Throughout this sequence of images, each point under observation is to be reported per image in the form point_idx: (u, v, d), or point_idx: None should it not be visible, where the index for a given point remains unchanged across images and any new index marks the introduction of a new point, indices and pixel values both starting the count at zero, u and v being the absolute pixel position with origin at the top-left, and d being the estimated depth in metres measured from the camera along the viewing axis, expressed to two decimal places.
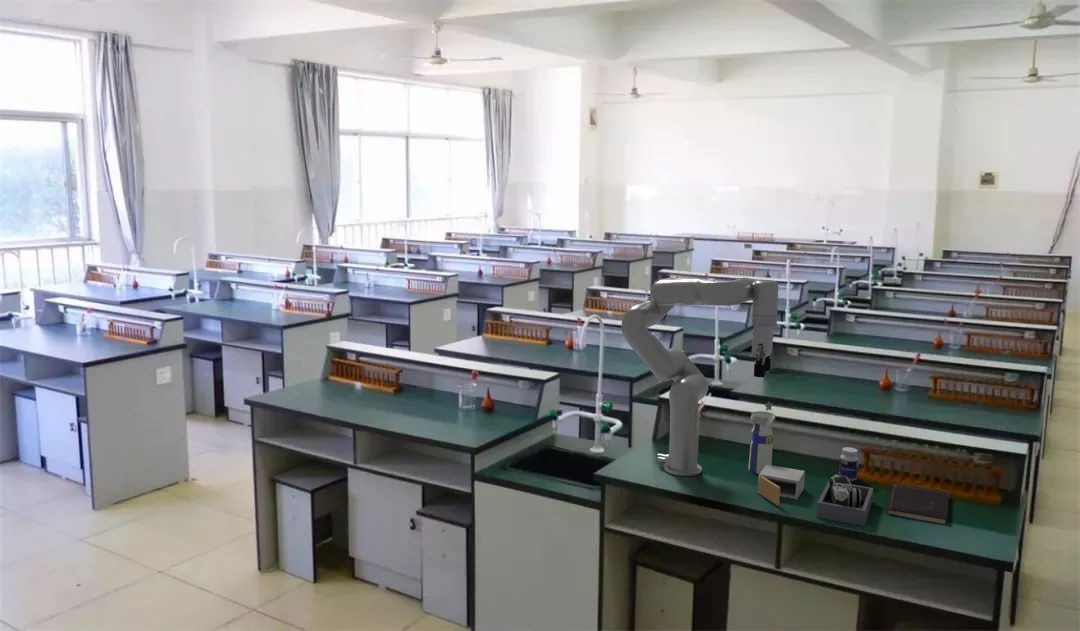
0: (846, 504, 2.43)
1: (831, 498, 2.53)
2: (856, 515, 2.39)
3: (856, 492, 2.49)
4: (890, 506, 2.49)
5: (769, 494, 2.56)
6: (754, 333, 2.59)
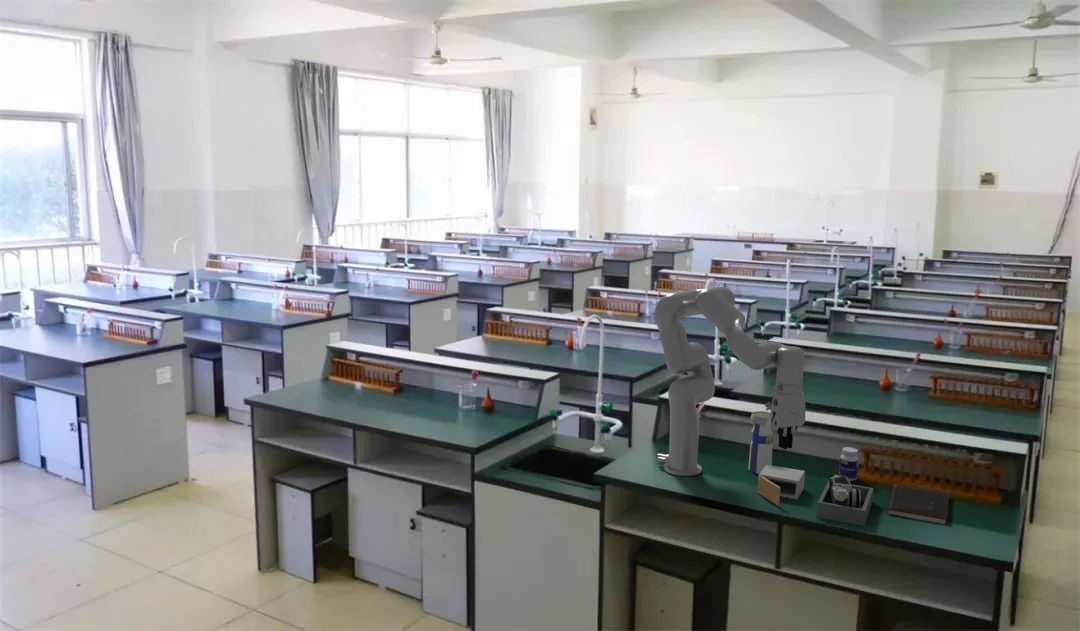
0: (845, 504, 2.43)
1: (831, 498, 2.52)
2: (856, 515, 2.39)
3: (855, 492, 2.48)
4: (890, 506, 2.49)
5: (769, 494, 2.56)
6: None
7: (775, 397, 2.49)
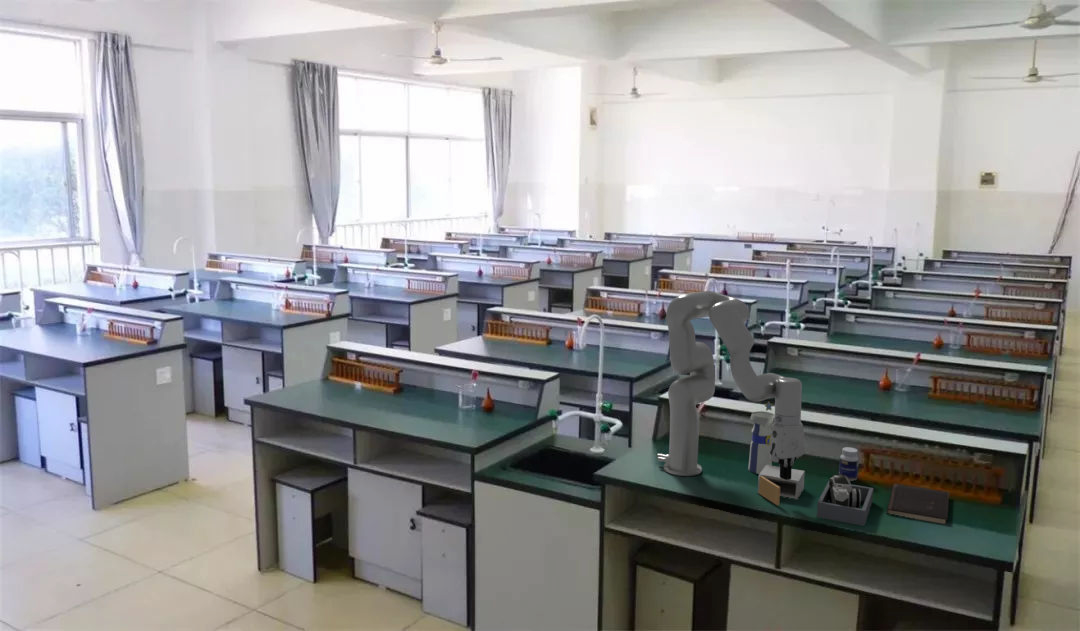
0: (846, 505, 2.43)
1: (831, 499, 2.52)
2: (856, 515, 2.39)
3: (855, 492, 2.48)
4: (890, 506, 2.49)
5: (769, 494, 2.56)
6: None
7: (774, 429, 2.50)
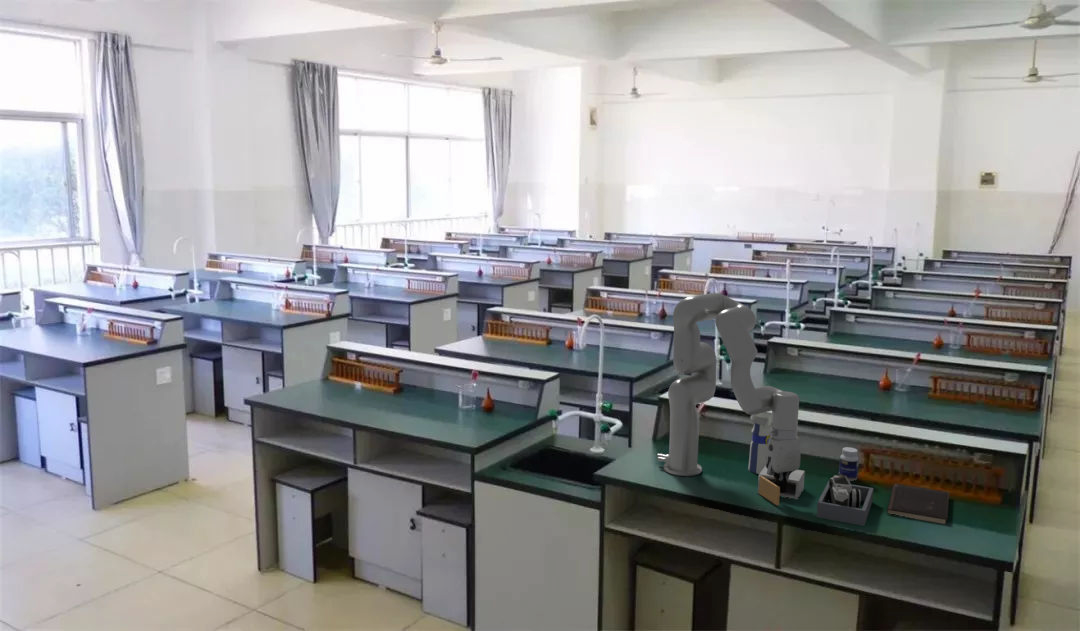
0: (846, 505, 2.42)
1: (831, 499, 2.52)
2: (856, 515, 2.39)
3: (855, 493, 2.48)
4: (890, 506, 2.49)
5: (769, 494, 2.56)
6: None
7: (770, 442, 2.51)
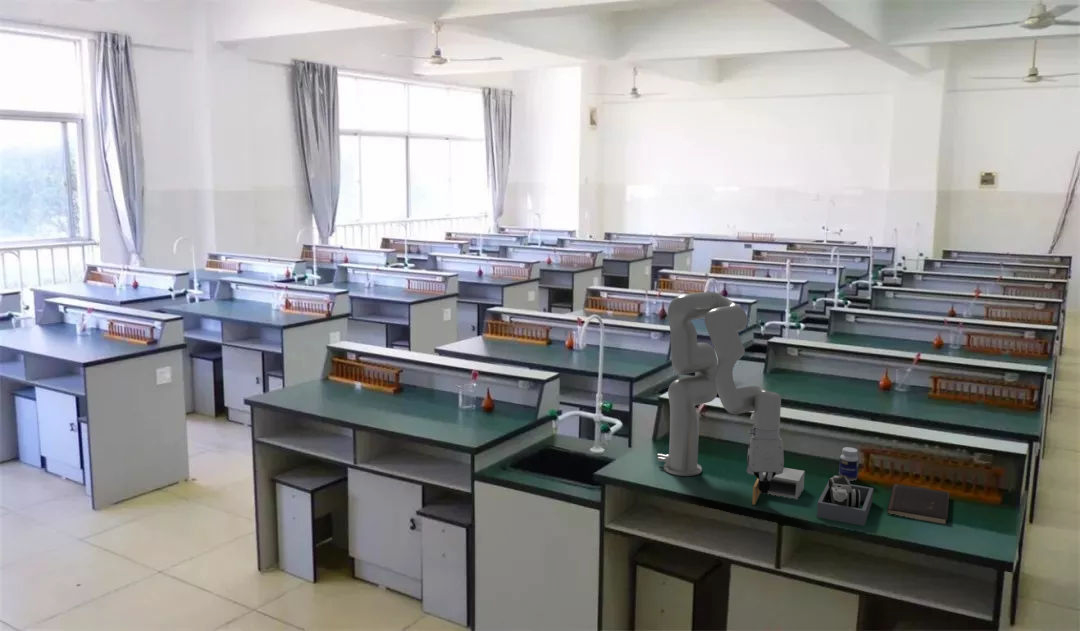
0: (845, 505, 2.42)
1: (830, 499, 2.52)
2: (856, 515, 2.39)
3: (855, 493, 2.48)
4: (890, 506, 2.49)
5: None
6: (782, 447, 2.49)
7: (750, 440, 2.52)
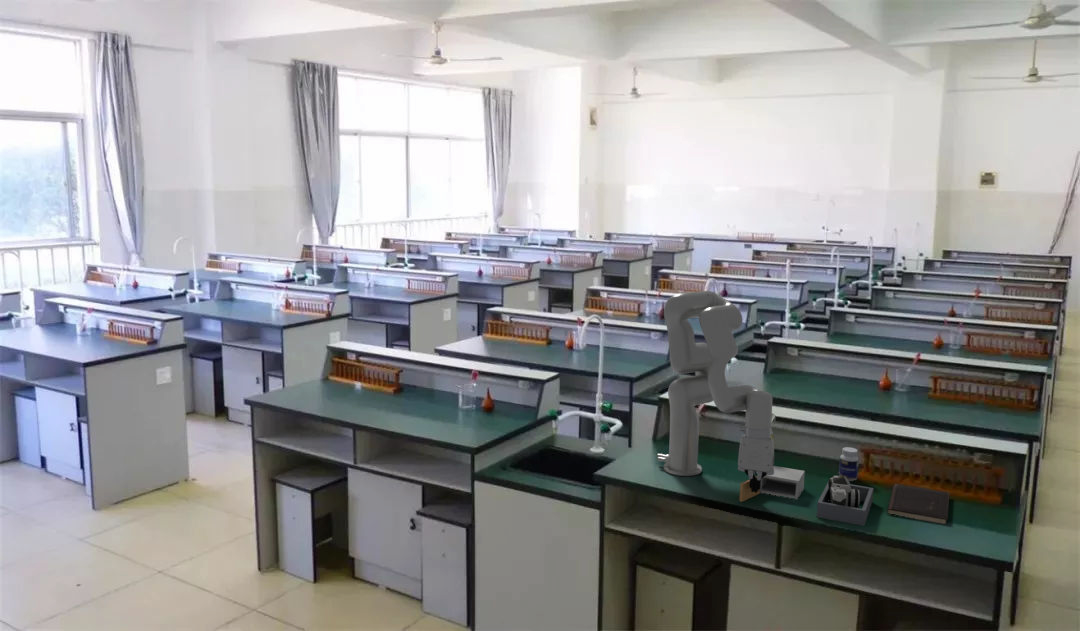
0: (843, 505, 2.42)
1: (830, 499, 2.52)
2: (856, 515, 2.39)
3: (854, 493, 2.48)
4: (890, 506, 2.49)
5: None
6: (771, 448, 2.49)
7: None
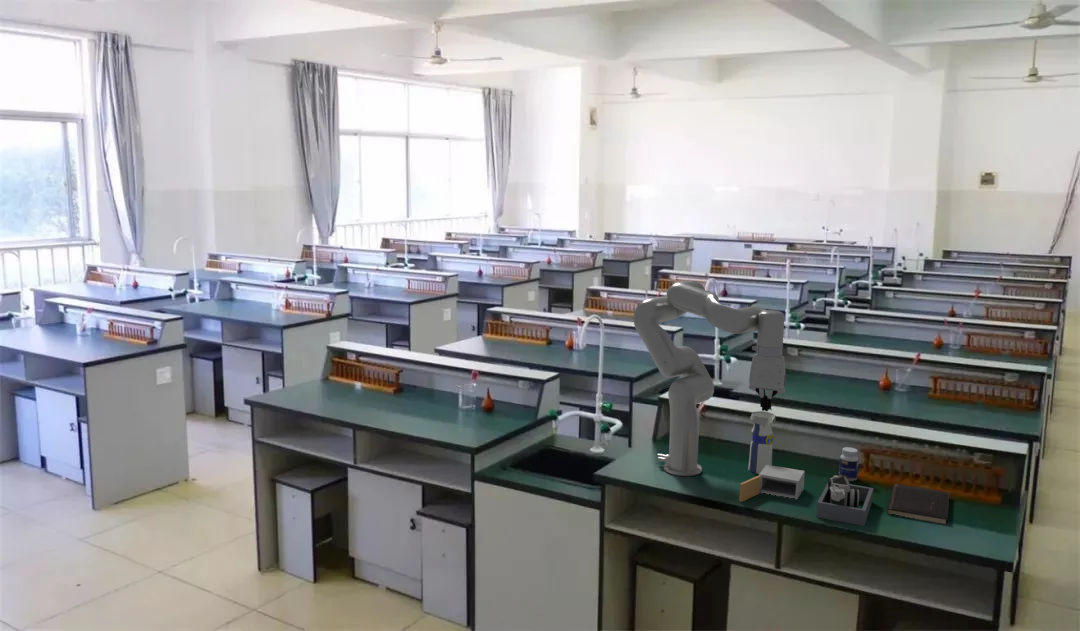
0: (842, 504, 2.43)
1: None
2: (856, 515, 2.39)
3: (854, 493, 2.48)
4: (890, 506, 2.49)
5: None
6: (782, 366, 2.52)
7: None
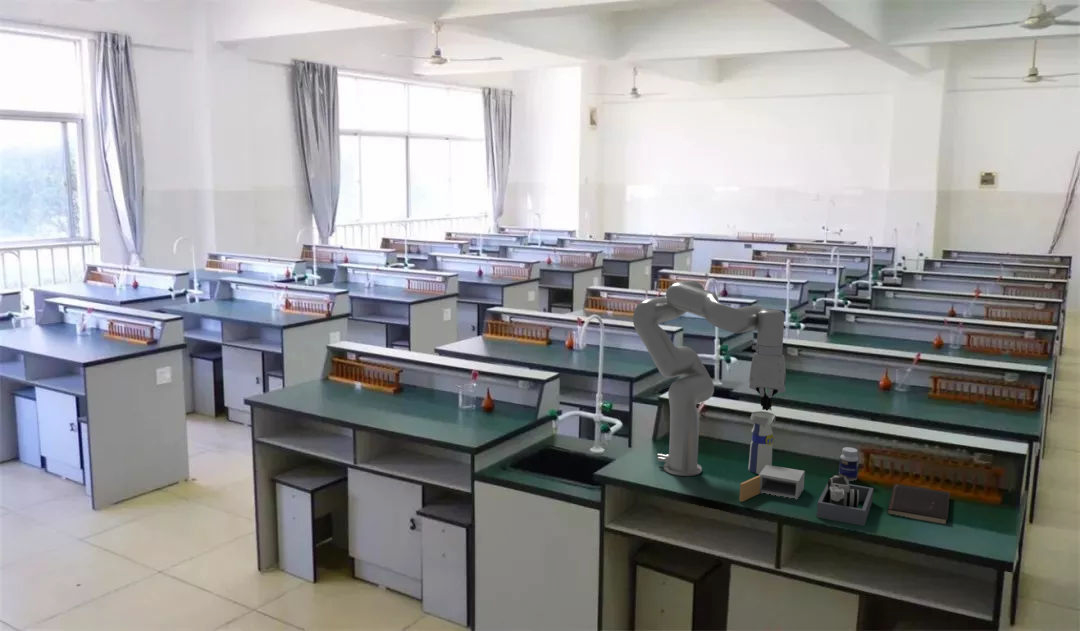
0: (841, 504, 2.43)
1: None
2: (856, 515, 2.39)
3: (853, 493, 2.48)
4: (890, 506, 2.49)
5: None
6: (782, 365, 2.52)
7: None
